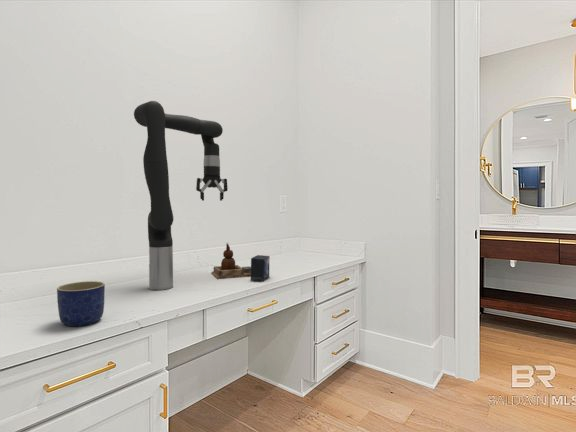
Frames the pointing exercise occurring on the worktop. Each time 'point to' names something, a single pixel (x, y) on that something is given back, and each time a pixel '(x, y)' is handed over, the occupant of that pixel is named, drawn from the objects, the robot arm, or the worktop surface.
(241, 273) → the wooden tray
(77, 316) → the planter
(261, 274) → the small box
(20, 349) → the worktop surface
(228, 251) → the wooden figurine
